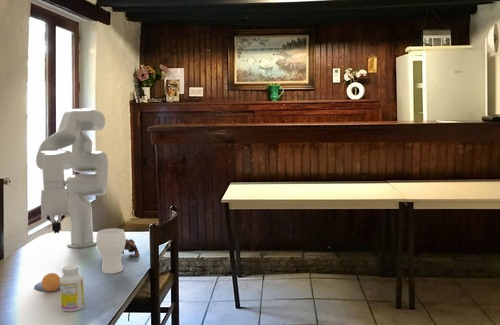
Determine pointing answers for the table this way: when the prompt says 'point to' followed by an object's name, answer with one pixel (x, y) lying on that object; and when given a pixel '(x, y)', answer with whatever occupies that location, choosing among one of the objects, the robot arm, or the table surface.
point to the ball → (51, 282)
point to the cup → (111, 249)
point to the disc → (40, 288)
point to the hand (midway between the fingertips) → (56, 232)
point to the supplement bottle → (71, 289)
